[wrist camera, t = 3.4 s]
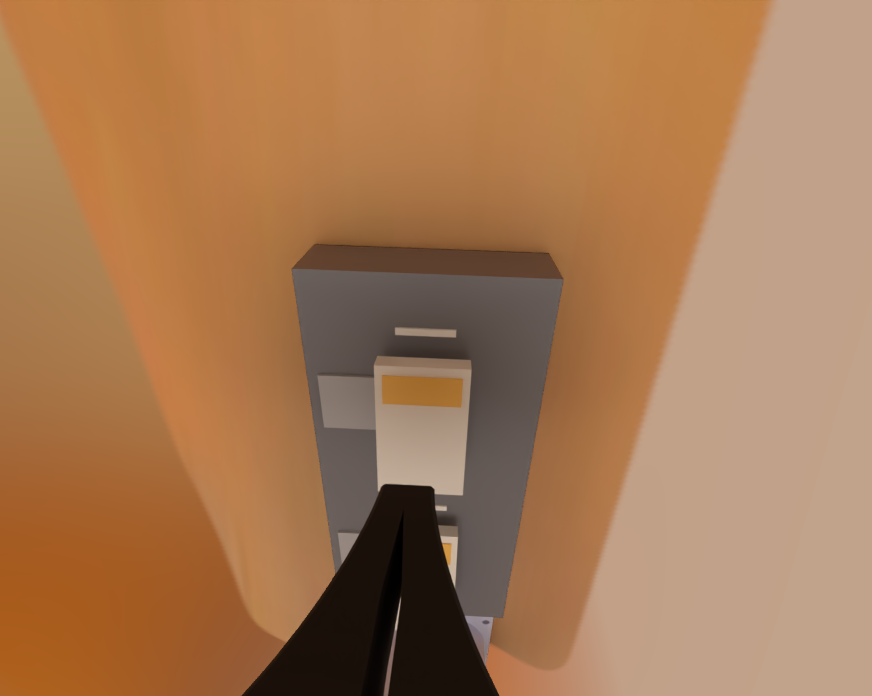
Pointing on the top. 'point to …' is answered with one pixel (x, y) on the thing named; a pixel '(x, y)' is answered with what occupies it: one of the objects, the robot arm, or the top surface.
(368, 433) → the switch strip
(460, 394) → the plate
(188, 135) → the top surface
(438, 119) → the top surface
